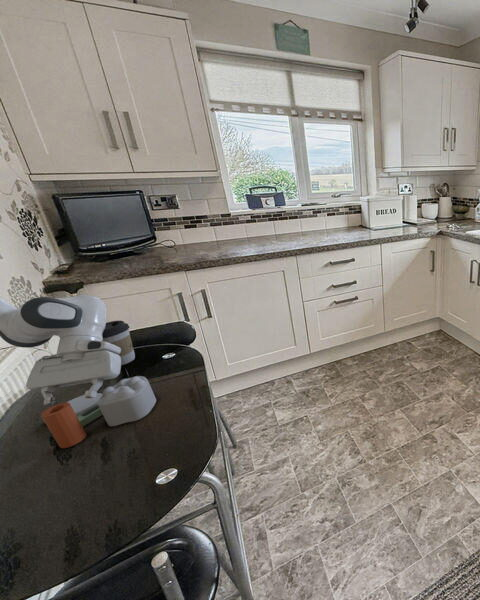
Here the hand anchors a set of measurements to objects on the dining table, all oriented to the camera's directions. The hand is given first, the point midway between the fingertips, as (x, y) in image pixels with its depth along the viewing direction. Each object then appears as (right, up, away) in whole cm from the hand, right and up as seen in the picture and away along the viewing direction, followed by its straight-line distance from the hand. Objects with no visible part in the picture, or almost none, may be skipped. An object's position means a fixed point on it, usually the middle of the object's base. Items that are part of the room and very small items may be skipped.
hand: (69, 401), depth 85 cm
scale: (-6, -6, +10) cm, 14 cm away
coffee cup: (-19, +3, +39) cm, 43 cm away
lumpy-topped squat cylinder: (+9, -5, +10) cm, 14 cm away
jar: (+2, -10, -1) cm, 10 cm away
